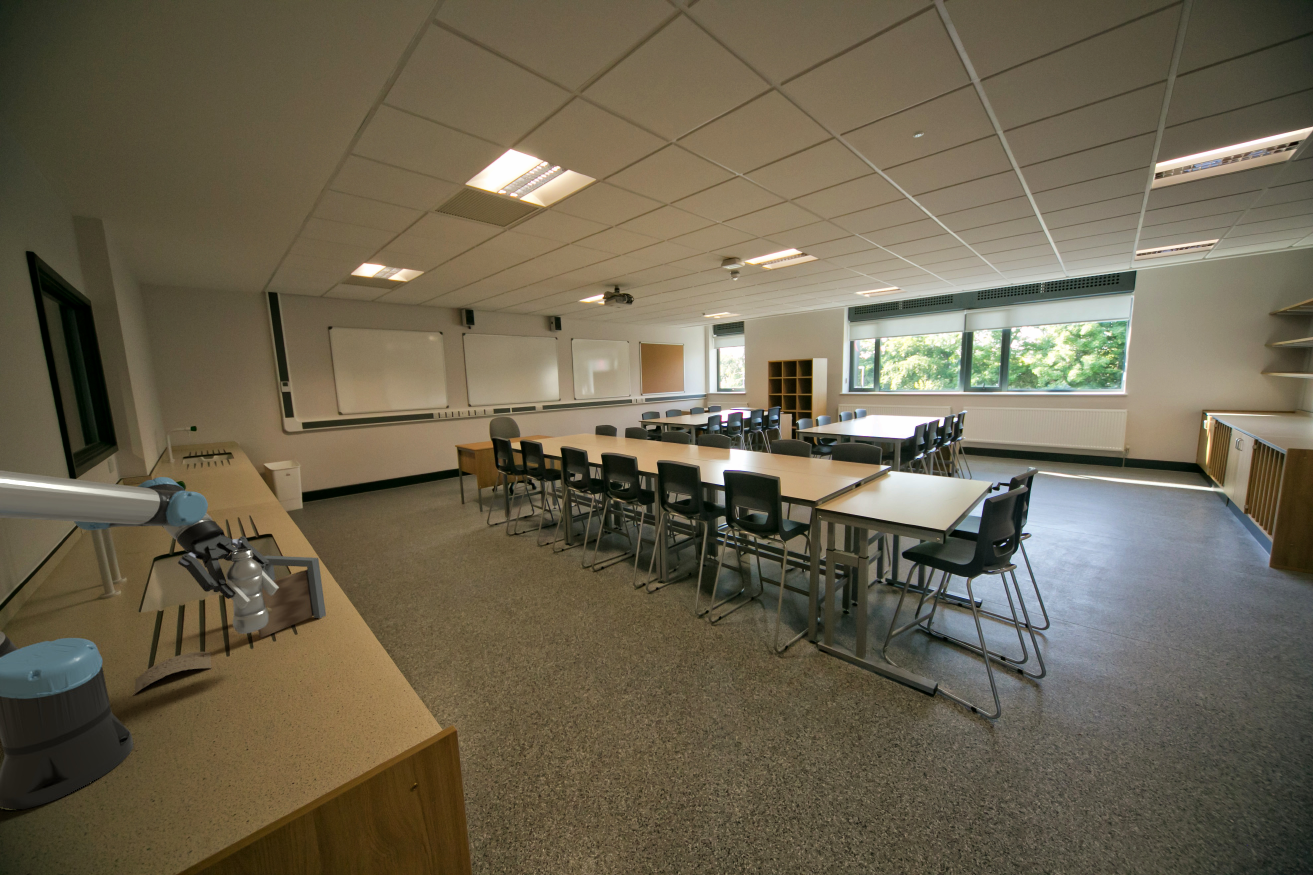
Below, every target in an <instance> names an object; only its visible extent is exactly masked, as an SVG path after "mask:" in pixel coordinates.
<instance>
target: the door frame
mask: <svg viewBox="0 0 1313 875" xmlns="http://www.w3.org/2000/svg"><path fill="white" fill-rule="evenodd" d="M263 556H264V557H265V558H266V559H267V560H268V561H269V564H268V565H267V566H266V568H265V570H266V571H267V572H268V573H269V574H270V575H271V576H272V579H271V580H272V581H273V580H276V575H275V568H274V566H284V567H301V568H306V570H308V577H309V585H310V592H311V599H312V606H313V613H314V616H313V619H314V618H321V619H322V617H323V616H324V617H326V616H327V612H326V604H325V598H324V590H323V582H322V576H321V569H320V560H319V557H312V556H311V557H310V556H309V557H307V556H287V555H283V556H282V555H263ZM324 617H323V618H324Z"/></svg>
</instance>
